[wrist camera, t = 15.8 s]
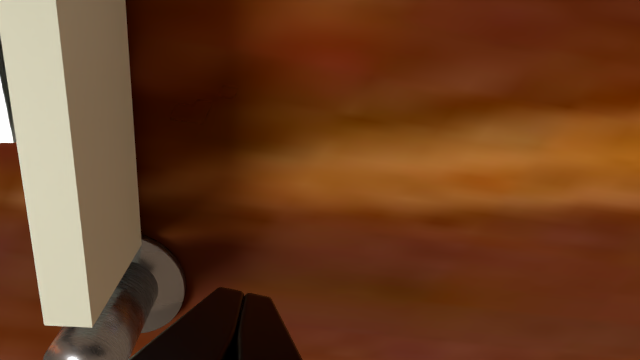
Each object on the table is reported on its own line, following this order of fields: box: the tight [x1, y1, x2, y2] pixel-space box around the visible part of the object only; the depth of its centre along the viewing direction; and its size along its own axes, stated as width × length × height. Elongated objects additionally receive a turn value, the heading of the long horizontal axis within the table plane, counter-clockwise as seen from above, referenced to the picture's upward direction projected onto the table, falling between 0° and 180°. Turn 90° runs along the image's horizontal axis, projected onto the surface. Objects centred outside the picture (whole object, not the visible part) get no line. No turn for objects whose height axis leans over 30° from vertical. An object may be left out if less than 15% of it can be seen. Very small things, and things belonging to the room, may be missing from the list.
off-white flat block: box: [0, 0, 142, 328], centre depth 17 cm, size 11×1×5 cm, turn 176°
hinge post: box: [43, 235, 186, 360], centre depth 20 cm, size 4×4×5 cm
